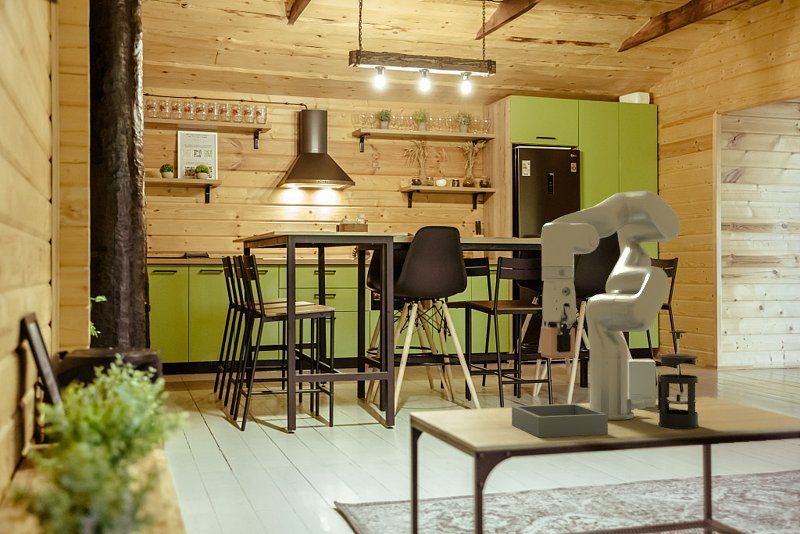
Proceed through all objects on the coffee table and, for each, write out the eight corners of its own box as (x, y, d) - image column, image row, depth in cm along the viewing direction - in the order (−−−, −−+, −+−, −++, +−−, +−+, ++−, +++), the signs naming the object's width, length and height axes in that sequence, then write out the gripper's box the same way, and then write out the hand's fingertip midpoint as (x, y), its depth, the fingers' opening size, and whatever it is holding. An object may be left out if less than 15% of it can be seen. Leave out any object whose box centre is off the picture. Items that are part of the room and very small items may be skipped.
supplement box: (656, 407, 243) (656, 361, 244) (628, 406, 245) (628, 361, 245) (654, 403, 251) (653, 359, 251) (627, 403, 252) (626, 358, 252)
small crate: (564, 355, 214) (564, 326, 214) (575, 357, 208) (574, 328, 208) (541, 356, 212) (541, 326, 212) (551, 358, 206) (551, 328, 206)
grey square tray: (576, 422, 220) (576, 403, 220) (607, 434, 204) (607, 414, 204) (511, 424, 216) (511, 406, 216) (538, 437, 200) (538, 417, 200)
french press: (709, 427, 211) (709, 331, 211) (678, 430, 208) (677, 332, 208) (675, 420, 222) (675, 328, 222) (645, 423, 218) (645, 329, 219)
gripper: (588, 274, 203) (588, 353, 202) (557, 274, 219) (558, 347, 219) (557, 274, 201) (557, 354, 201) (529, 274, 218) (529, 348, 217)
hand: (558, 350), depth 210 cm, fingers closed on small crate, 6 cm apart
